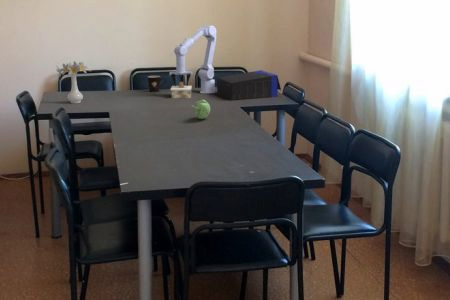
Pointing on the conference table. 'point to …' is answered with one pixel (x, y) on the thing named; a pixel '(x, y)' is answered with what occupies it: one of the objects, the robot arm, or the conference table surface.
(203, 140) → the conference table surface
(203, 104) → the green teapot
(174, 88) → the lid
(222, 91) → the headphone box
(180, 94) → the box
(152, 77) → the coffee mug
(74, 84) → the flower vase
